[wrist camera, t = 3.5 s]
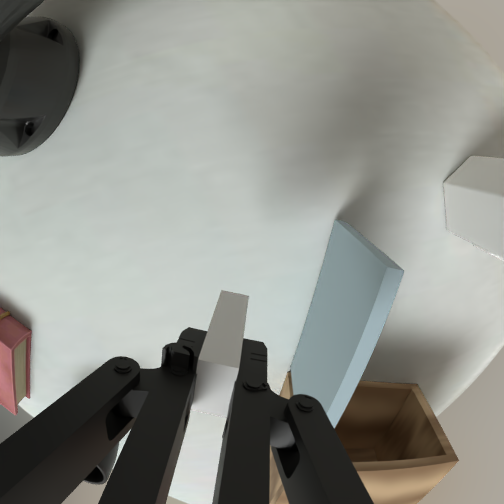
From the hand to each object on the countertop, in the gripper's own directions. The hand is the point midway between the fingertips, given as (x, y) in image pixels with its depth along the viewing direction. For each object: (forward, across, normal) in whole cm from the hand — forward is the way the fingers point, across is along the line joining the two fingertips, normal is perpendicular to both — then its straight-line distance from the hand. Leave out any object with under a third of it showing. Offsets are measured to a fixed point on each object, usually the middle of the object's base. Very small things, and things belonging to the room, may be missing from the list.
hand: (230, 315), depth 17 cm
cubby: (+11, +15, -17) cm, 25 cm away
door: (+10, +7, -3) cm, 13 cm away
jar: (+11, +21, +10) cm, 26 cm away
